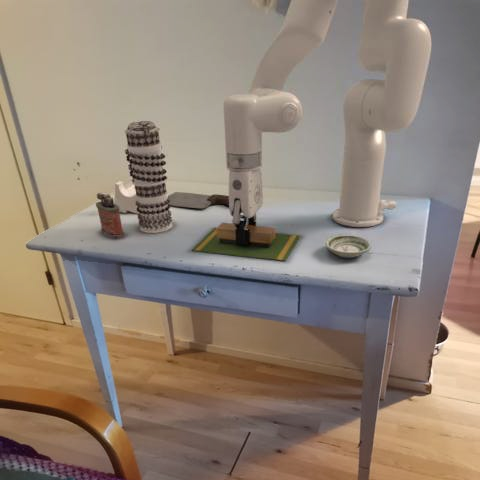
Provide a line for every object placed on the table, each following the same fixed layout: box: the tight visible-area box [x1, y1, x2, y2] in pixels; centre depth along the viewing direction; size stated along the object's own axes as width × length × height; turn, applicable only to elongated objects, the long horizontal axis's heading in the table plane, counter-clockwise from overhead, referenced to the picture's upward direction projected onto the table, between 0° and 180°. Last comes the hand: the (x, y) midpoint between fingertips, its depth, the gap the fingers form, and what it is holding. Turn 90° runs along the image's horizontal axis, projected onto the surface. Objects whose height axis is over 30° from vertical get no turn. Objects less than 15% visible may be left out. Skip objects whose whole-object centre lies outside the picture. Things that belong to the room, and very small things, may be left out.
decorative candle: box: [124, 120, 173, 234], centre depth 110 cm, size 9×9×25 cm
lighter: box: [95, 192, 125, 240], centre depth 111 cm, size 8×3×10 cm, turn 45°
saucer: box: [324, 234, 372, 259], centre depth 98 cm, size 10×10×2 cm
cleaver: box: [168, 191, 229, 210], centre depth 129 cm, size 29×10×2 cm, turn 62°
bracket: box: [114, 180, 139, 215], centre depth 129 cm, size 13×7×8 cm, turn 168°
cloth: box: [191, 227, 301, 262], centre depth 105 cm, size 22×14×1 cm, turn 71°
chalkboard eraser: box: [215, 222, 276, 248], centre depth 104 cm, size 4×13×4 cm, turn 71°
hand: (246, 240), depth 104 cm, fingers closed on chalkboard eraser, 4 cm apart
